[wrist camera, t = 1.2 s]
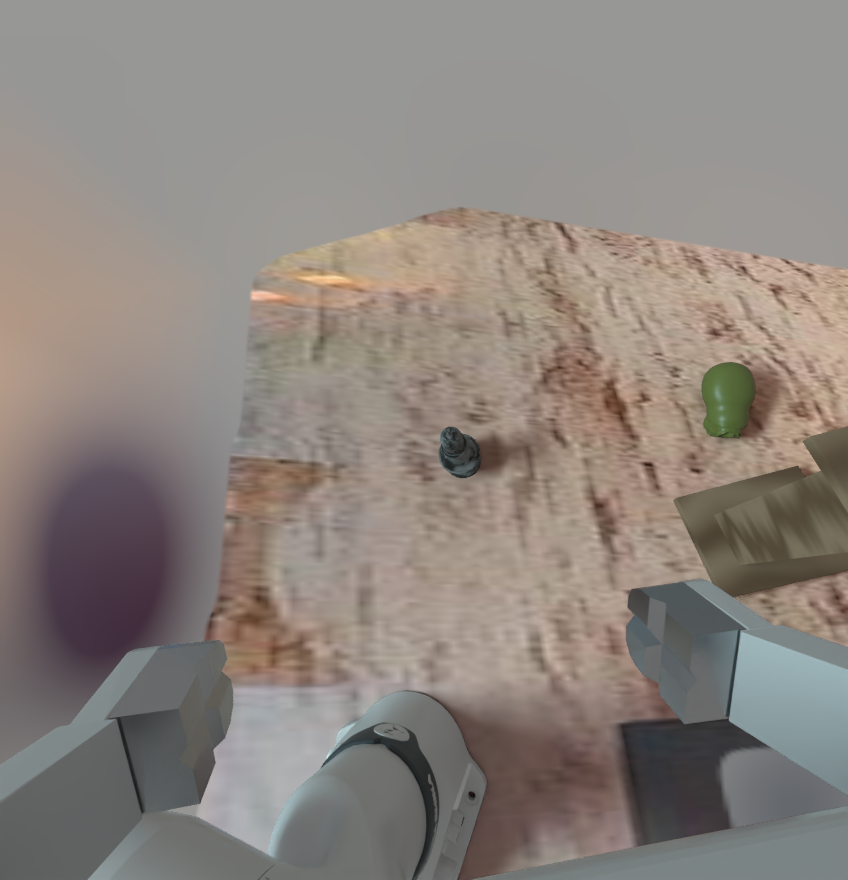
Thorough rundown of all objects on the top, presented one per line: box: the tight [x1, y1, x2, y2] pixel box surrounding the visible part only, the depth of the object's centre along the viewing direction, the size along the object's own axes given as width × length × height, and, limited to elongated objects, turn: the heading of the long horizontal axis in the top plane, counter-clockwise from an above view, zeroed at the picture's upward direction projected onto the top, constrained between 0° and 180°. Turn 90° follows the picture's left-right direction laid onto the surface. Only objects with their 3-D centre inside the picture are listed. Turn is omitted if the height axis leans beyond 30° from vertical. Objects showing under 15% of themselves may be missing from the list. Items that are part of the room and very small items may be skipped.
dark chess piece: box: [439, 427, 481, 478], centre depth 56 cm, size 6×6×12 cm
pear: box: [702, 362, 755, 438], centre depth 54 cm, size 6×5×10 cm
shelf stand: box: [673, 426, 848, 597], centre depth 37 cm, size 17×14×26 cm
